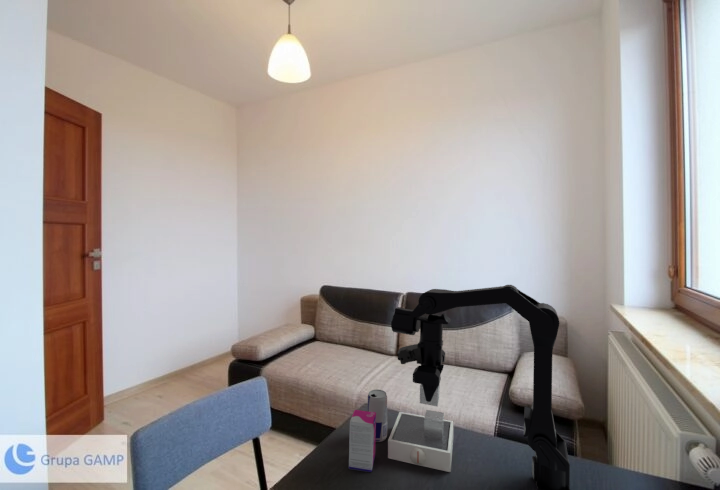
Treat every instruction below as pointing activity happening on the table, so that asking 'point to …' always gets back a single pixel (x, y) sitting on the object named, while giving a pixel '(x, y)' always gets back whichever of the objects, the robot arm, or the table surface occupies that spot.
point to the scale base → (421, 450)
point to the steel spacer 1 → (434, 399)
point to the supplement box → (362, 440)
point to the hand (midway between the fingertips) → (429, 396)
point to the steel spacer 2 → (434, 424)
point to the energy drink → (379, 412)
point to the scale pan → (419, 433)
